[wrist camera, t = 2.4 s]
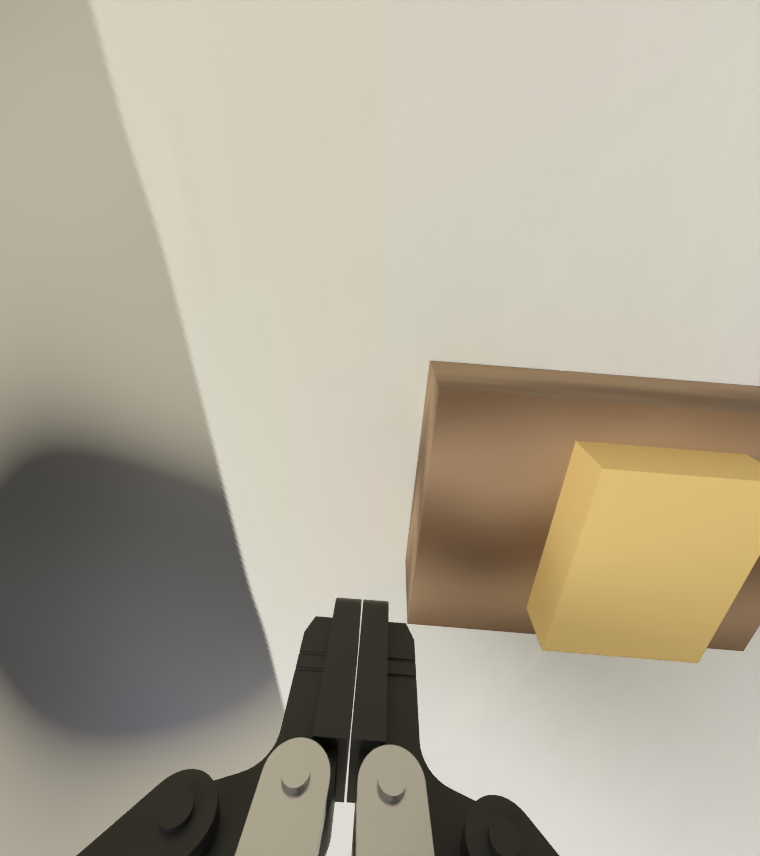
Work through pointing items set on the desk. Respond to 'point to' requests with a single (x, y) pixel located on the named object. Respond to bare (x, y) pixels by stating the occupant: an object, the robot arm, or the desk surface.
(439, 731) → the desk surface
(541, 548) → the brown wooden block
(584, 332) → the desk surface
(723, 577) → the tile
